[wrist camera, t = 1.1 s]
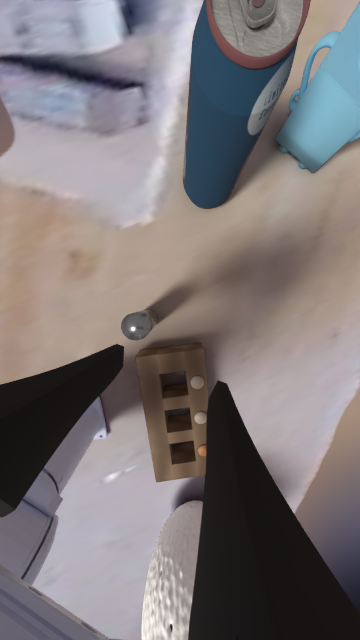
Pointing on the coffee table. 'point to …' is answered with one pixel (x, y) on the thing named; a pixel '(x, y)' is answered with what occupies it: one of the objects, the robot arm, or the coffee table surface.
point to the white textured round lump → (172, 576)
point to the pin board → (161, 398)
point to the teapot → (326, 100)
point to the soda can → (234, 87)
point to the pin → (139, 324)
